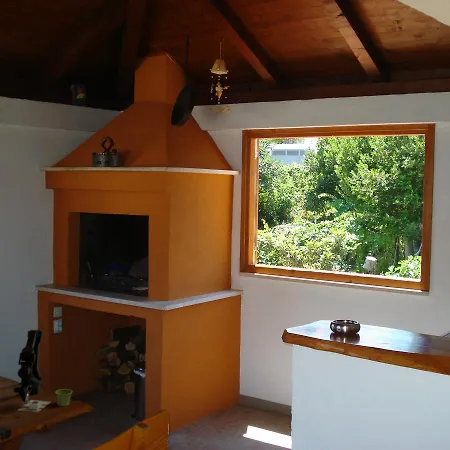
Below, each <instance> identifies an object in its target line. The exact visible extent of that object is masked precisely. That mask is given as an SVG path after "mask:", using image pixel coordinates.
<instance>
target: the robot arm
mask: <svg viewBox="0 0 450 450" xmlns="http://www.w3.org/2000/svg"><path fill="white" fill-rule="evenodd" d="M26 335H27V336H26V337H27V339H26V344H25V346H24V347H23V348H22V349H21V352H19V358H18V364H17V365H19V366H20V368H19V369H18V370H17V376H18V377H19V379H20V382H19V383H18V384H19V385H17V386H15V387H14V388H13V393H17V394H18V395H19V396H20V399H21V400H22V403H23V402H25V400H26V395H27V392H28V391H29V395H28V399H29V398H30V396H35V395H38V394H39V389H40V387H42V386H43V377H42V376H41V371H40V370H39V352H40V351H39V350H40V344H41V342H42V340H43V338H44V331H43V330H42V329H30V330H27V334H26ZM27 389H29V390H27Z"/></svg>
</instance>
